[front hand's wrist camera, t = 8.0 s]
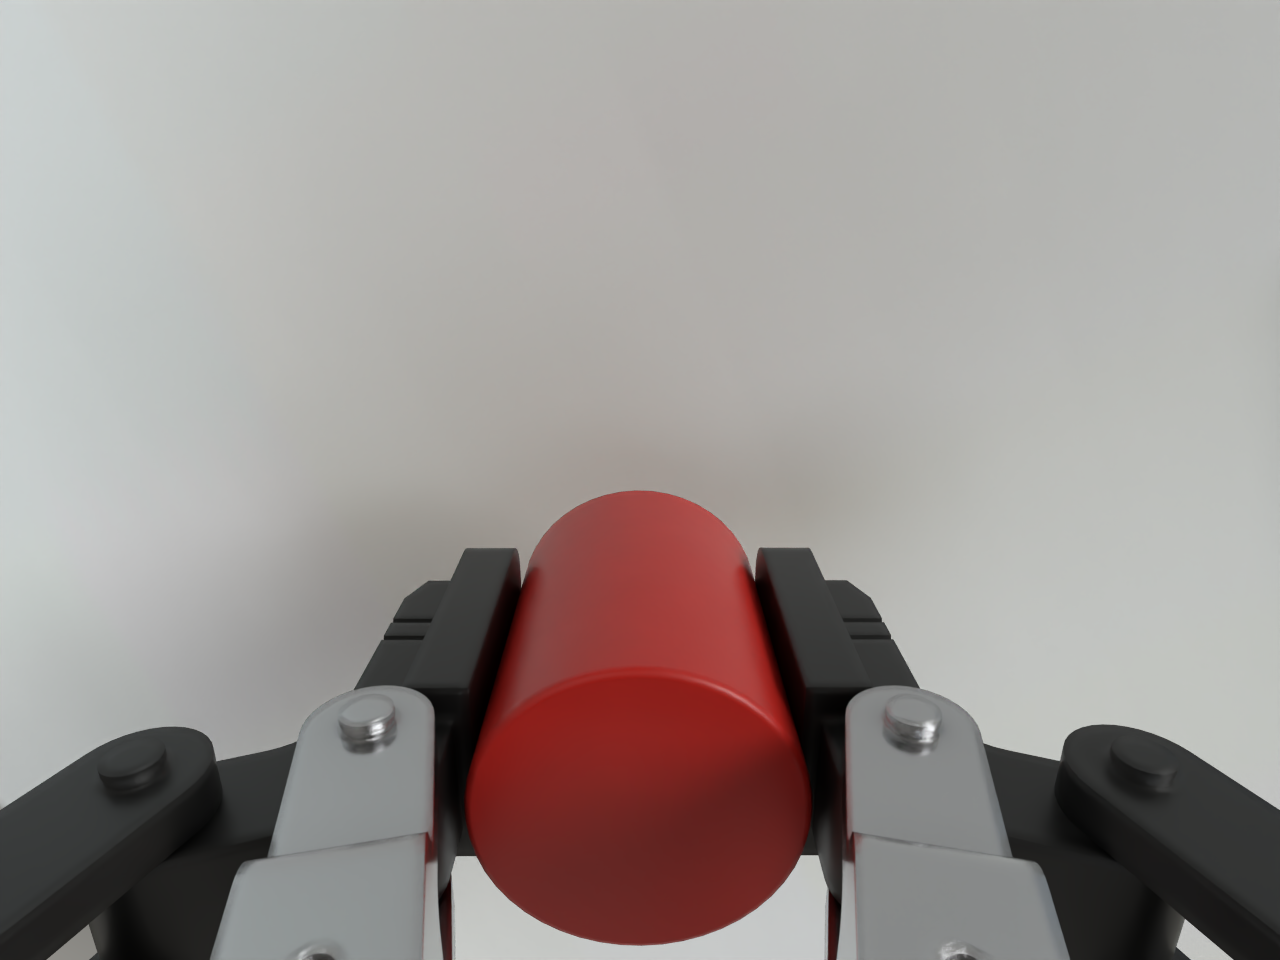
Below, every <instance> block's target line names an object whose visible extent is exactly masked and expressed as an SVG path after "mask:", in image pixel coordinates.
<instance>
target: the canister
mask: <svg viewBox="0 0 1280 960" xmlns="http://www.w3.org/2000/svg"><path fill="white" fill-rule="evenodd" d="M464 811H465V820H466V825H467V830H468V835H469V838H470V841H471V843H472V846H473V849H474V851H475V854H476V856H477V858H478V860H479V862H480V864H481V865H482V867H483V869H484V871H485V872H486V874H487V875H488V876H489V878H490V879H491V880H492V882H493V883H494V884H495V885H496V887H497V888H498V889H499V890H500V891H501V892H502V893H503V894H504V895H505V896H506V897H507V898H508V899H509V900H510V901H512V902H513V903H514V904H516V905H517V906H518V907H519V908H521V909H522V910H523V911H524V912H526V913H528V914H529V915H531V916H533V917H534V918H536V919H538V920H539V921H541V922H543V923H545V924H547V925H549V926H551V927H553V928H556V929H558V930H560V931H563V932H566V933H568V934H571V935H574V936H577V937H580V938H585V939H589V940H593V941H597V942H603V943H611V944H618V945H640V946H642V945H658V944H667V943H673V942H680V941H685V940H689V939H692V938H696V937H700V936H703V935H706V934H709V933H711V932H714V931H717V930H719V929H722V928H724V927H726V926H728V925H730V924H732V923H734V922H736V921H738V920H740V919H741V918H743V917H745V916H746V915H748V914H749V913H751V912H752V911H754V910H755V909H757V908H758V907H759V906H760V905H761V904H763V903H764V902H765V901H766V900H767V899H769V898H770V897H771V896H772V895H773V894H774V893H775V892H776V891H777V890H778V888H779V887H780V886H781V885H782V884H783V883H784V882H785V880H786V879H787V878H788V876H789V875H790V873H791V872H792V870H793V869H794V868H795V866H796V864H797V862H798V860H799V858H800V856H801V854H802V852H803V849H804V846H805V843H806V840H807V837H808V833H809V830H810V825H811V818H812V812H813V805H812V788H811V782H810V777H809V773H808V769H807V765H806V762H805V758H804V755H803V751H802V748H801V744H800V741H799V737H798V733H797V730H796V726H795V723H794V719H793V716H792V712H791V709H790V705H789V701H788V698H787V694H786V691H785V687H784V684H783V680H782V677H781V673H780V670H779V666H778V662H777V659H776V655H775V652H774V648H773V645H772V641H771V638H770V634H769V630H768V627H767V623H766V620H765V616H764V613H763V609H762V606H761V602H760V598H759V595H758V591H757V588H756V584H755V581H754V577H753V574H752V570H751V567H750V564H749V561H748V558H747V556H746V554H745V552H744V550H743V548H742V546H741V544H740V543H739V541H738V540H737V539H736V537H735V536H734V534H733V533H732V532H731V531H730V530H729V529H728V528H727V527H726V526H725V524H724V523H723V522H722V521H720V520H719V519H718V518H717V517H715V516H714V515H713V514H712V513H710V512H709V511H707V510H705V509H704V508H702V507H700V506H699V505H697V504H695V503H692V502H690V501H688V500H686V499H683V498H680V497H677V496H673V495H670V494H666V493H660V492H654V491H626V492H618V493H613V494H608V495H604V496H601V497H598V498H595V499H592V500H590V501H588V502H586V503H583V504H581V505H579V506H577V507H576V508H574V509H573V510H571V511H570V512H568V513H567V514H565V515H564V516H563V517H561V518H560V519H559V520H558V521H557V522H556V523H554V524H553V525H552V526H551V528H550V529H549V530H548V531H547V532H546V533H545V534H544V536H543V537H542V539H541V540H540V542H539V543H538V545H537V546H536V548H535V550H534V552H533V554H532V556H531V559H530V561H529V564H528V568H527V571H526V574H525V578H524V581H523V585H522V588H521V592H520V595H519V599H518V602H517V606H516V609H515V613H514V616H513V620H512V623H511V626H510V630H509V633H508V637H507V640H506V644H505V647H504V651H503V654H502V658H501V661H500V665H499V668H498V672H497V675H496V679H495V682H494V686H493V689H492V692H491V696H490V699H489V703H488V706H487V710H486V713H485V717H484V720H483V724H482V727H481V731H480V734H479V738H478V741H477V745H476V748H475V752H474V755H473V758H472V762H471V765H470V769H469V772H468V776H467V779H466V787H465V794H464Z"/></svg>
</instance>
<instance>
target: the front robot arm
mask: <svg viewBox="0 0 1280 960" xmlns="http://www.w3.org/2000/svg"><path fill="white" fill-rule="evenodd" d="M755 584H756V588H757V591H758V595H759V598H760V602H761V606H762V609H763V613H764V616H765V620H766V623H767V627H768V630H769V634H770V638H771V641H772V645H773V648H774V652H775V655H776V659H777V662H778V666H779V670H780V673H781V677H782V680H783V684H784V687H785V691H786V694H787V698H788V701H789V705H790V709H791V712H792V716H793V719H794V723H795V726H796V730H797V733H798V737H799V741H800V744H801V748H802V751H803V755H804V758H805V762H806V765H807V769H808V773H809V777H810V782H811V788H812V805H813V812H812V818H811V825H810V830H809V833H808V837H807V840H806V843H805V846H804V849H803V852H802V854H801V855H819V859H820V863H821V867H822V871H823V874H824V878H825V881H826V884H827V895H826V905H825V960H1190V959H1189V958H1188V957H1187V956H1186V955H1185V954H1184V953H1182V952H1181V951H1180V950H1179V949H1178V948H1177V947H1176V946H1177V943H1178V939H1179V936H1180V933H1181V930H1182V927H1183V923H1184V920H1185V919H1186V920H1187V921H1188V922H1190V923H1191V924H1192V925H1193V926H1194V927H1196V928H1197V929H1198V930H1199V931H1200V932H1201V933H1203V934H1204V935H1205V936H1206V937H1207V938H1209V939H1210V940H1211V941H1212V942H1213V943H1215V944H1216V945H1217V946H1218V947H1219V948H1220V949H1222V950H1223V951H1224V952H1225V953H1226V954H1228V955H1229V956H1230V957H1231V958H1232V959H1233V960H1280V810H1279V809H1277V808H1276V807H1274V806H1273V805H1271V804H1269V803H1268V802H1266V801H1265V800H1263V799H1262V798H1260V797H1259V796H1257V795H1256V794H1254V793H1253V792H1251V791H1249V790H1248V789H1246V788H1245V787H1243V786H1242V785H1240V784H1239V783H1237V782H1236V781H1234V780H1233V779H1231V778H1229V777H1228V776H1226V775H1225V774H1223V773H1222V772H1220V771H1219V770H1217V769H1216V768H1214V767H1213V766H1211V765H1210V764H1208V763H1206V762H1205V761H1203V760H1202V759H1200V758H1199V757H1197V756H1196V755H1194V754H1193V753H1191V752H1189V751H1188V750H1186V749H1184V748H1183V747H1181V746H1179V745H1177V744H1175V743H1173V742H1171V741H1169V740H1167V739H1165V738H1162V737H1160V736H1157V735H1155V734H1152V733H1149V732H1146V731H1142V730H1139V729H1134V728H1130V727H1125V726H1118V725H1091V726H1086V727H1082V728H1080V729H1077V730H1075V731H1074V732H1072V733H1071V734H1069V736H1068V737H1067V738H1066V740H1065V743H1064V746H1063V750H1062V755H1061V760H1060V761H1056V760H1051V759H1047V758H1042V757H1037V756H1032V755H1028V754H1023V753H1018V752H1013V751H1008V750H1004V749H1000V748H996V747H993V746H990V745H987V744H984V743H983V740H982V737H981V733H980V730H979V728H978V725H977V724H976V722H975V721H974V719H973V718H972V717H971V716H970V715H969V714H968V713H967V712H966V711H965V710H964V709H963V708H961V707H960V706H959V705H957V704H956V703H954V702H952V701H951V700H949V699H947V698H945V697H943V696H941V695H938V694H935V693H933V692H930V691H927V690H923V689H920V688H919V686H918V684H917V682H916V680H915V678H914V677H913V675H912V673H911V671H910V669H909V667H908V666H907V664H906V662H905V660H904V658H903V656H902V655H901V653H900V651H899V649H898V647H897V645H896V644H895V642H894V640H893V639H891V634H890V633H889V631H888V629H887V627H886V625H885V623H884V622H882V618H881V616H880V614H879V612H878V610H877V609H876V607H875V605H874V603H873V601H872V599H871V598H870V597H869V596H867V595H866V594H865V593H863V592H862V591H861V590H859V589H858V588H856V587H855V586H854V585H852V584H851V583H850V582H848V581H847V580H824V578H823V575H822V573H821V571H820V569H819V567H818V564H817V562H816V560H815V558H814V556H813V553H812V551H811V549H810V548H759V550H758V553H757V559H756V573H755ZM520 592H521V575H520V561H519V554H518V551H517V549H516V548H466V549H465V551H464V553H463V555H462V557H461V559H460V561H459V564H458V566H457V568H456V570H455V572H454V574H453V577H452V579H451V581H428V582H427V583H425V584H424V585H422V586H421V587H420V588H418V589H417V590H416V591H414V592H413V593H411V594H410V595H409V596H407V597H406V598H405V599H404V600H403V602H402V604H401V606H400V608H399V610H398V611H397V613H396V615H395V617H394V619H393V623H391V624H390V626H389V628H388V629H387V631H386V633H385V635H384V640H381V642H380V644H379V646H378V647H377V649H376V651H375V653H374V655H373V656H372V658H371V660H370V662H369V664H368V665H367V667H366V669H365V671H364V673H363V674H362V676H361V678H360V680H359V682H358V683H357V685H356V687H355V689H354V690H353V691H350V692H347V693H345V694H342V695H339V696H337V697H335V698H333V699H331V700H329V701H328V702H326V703H324V704H323V705H321V706H320V707H319V708H317V709H316V710H315V711H314V712H313V713H312V714H311V715H310V716H309V717H308V718H307V719H306V721H305V722H304V724H303V725H302V728H301V730H300V733H299V737H298V740H297V742H295V743H292V744H289V745H286V746H283V747H280V748H277V749H273V750H269V751H264V752H260V753H255V754H250V755H245V756H240V757H236V758H231V759H226V760H221V761H217V762H216V758H215V753H214V749H213V745H212V742H211V741H210V739H209V738H208V737H207V736H206V735H205V734H203V733H202V732H199V731H197V730H194V729H190V728H185V727H160V728H153V729H147V730H143V731H139V732H135V733H132V734H128V735H125V736H122V737H120V738H117V739H115V740H112V741H110V742H108V743H106V744H104V745H102V746H100V747H98V748H96V749H94V750H93V751H91V752H89V753H87V754H86V755H84V756H83V757H81V758H80V759H78V760H77V761H75V762H74V763H72V764H70V765H69V766H67V767H66V768H64V769H63V770H61V771H60V772H58V773H57V774H55V775H54V776H52V777H50V778H49V779H47V780H46V781H44V782H43V783H41V784H40V785H38V786H37V787H35V788H34V789H32V790H31V791H29V792H27V793H26V794H24V795H23V796H21V797H20V798H18V799H17V800H15V801H14V802H12V803H11V804H9V805H7V806H6V807H4V808H3V809H1V810H0V960H46V959H48V958H49V957H50V956H51V955H52V954H54V953H55V952H56V951H57V950H58V949H59V948H61V947H62V946H63V945H64V944H65V943H67V942H68V941H69V940H70V939H71V938H73V937H74V936H75V935H76V934H77V933H78V932H80V931H81V930H82V929H83V928H84V927H86V926H87V925H88V924H89V927H90V930H91V933H92V936H93V939H94V943H95V945H96V949H97V952H98V953H96V954H95V955H94V956H93V957H92V958H91V959H90V960H455V905H454V895H453V886H452V876H451V872H452V868H453V864H454V861H455V857H456V856H476V854H475V851H474V849H473V846H472V843H471V841H470V838H469V835H468V830H467V825H466V820H465V811H464V794H465V787H466V779H467V776H468V772H469V769H470V765H471V762H472V758H473V755H474V752H475V748H476V745H477V741H478V738H479V734H480V731H481V727H482V724H483V720H484V717H485V713H486V710H487V706H488V703H489V699H490V696H491V692H492V689H493V686H494V682H495V679H496V675H497V672H498V668H499V665H500V661H501V658H502V654H503V651H504V647H505V644H506V640H507V637H508V633H509V630H510V626H511V623H512V620H513V616H514V613H515V609H516V606H517V602H518V599H519V595H520Z"/></svg>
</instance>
